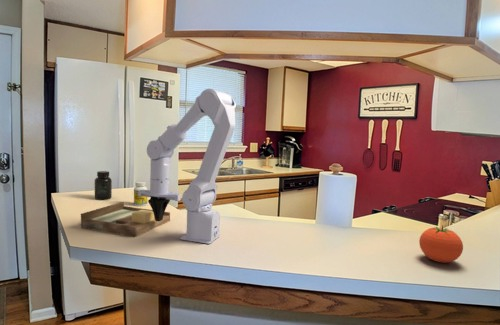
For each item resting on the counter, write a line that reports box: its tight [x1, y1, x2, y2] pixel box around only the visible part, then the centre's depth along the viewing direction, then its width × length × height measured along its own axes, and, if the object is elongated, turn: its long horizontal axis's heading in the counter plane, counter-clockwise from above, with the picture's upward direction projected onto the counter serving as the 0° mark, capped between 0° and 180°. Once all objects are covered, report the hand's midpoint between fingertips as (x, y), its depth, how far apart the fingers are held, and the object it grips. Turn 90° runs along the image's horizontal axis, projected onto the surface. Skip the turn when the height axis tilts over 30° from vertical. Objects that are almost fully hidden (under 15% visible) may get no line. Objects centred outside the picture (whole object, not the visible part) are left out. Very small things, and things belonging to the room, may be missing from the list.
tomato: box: [418, 225, 464, 263], centre depth 87 cm, size 10×10×10 cm
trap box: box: [80, 201, 171, 238], centre depth 107 cm, size 20×19×4 cm
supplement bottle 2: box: [133, 181, 148, 207], centre depth 134 cm, size 5×5×10 cm
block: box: [132, 210, 154, 223], centre depth 105 cm, size 5×5×3 cm
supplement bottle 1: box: [94, 170, 113, 201], centre depth 142 cm, size 7×7×12 cm
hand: (158, 220), depth 104 cm, fingers closed
